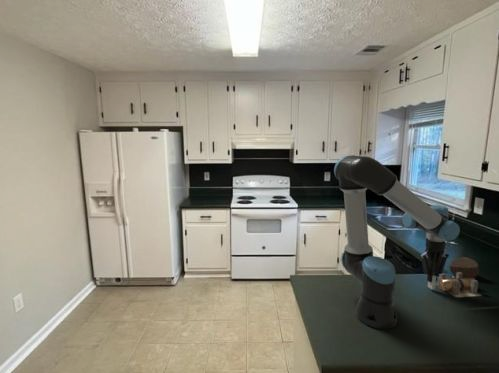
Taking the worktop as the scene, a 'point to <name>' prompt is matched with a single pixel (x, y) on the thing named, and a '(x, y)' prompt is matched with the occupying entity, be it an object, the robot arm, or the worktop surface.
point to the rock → (464, 267)
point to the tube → (448, 283)
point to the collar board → (463, 292)
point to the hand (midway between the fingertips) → (431, 287)
